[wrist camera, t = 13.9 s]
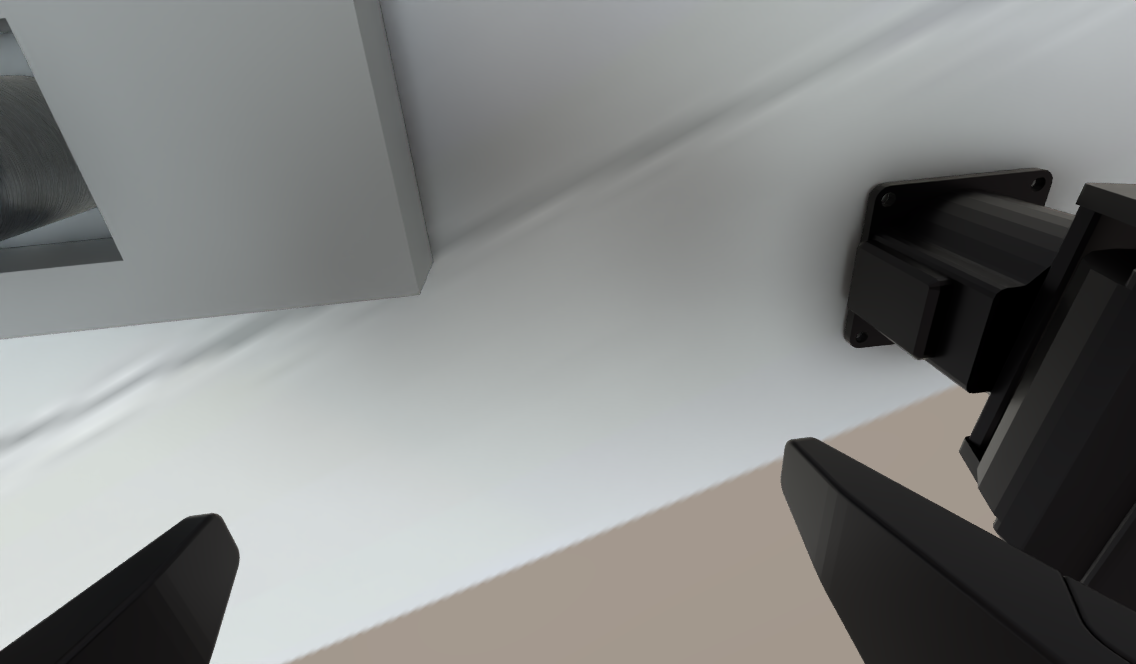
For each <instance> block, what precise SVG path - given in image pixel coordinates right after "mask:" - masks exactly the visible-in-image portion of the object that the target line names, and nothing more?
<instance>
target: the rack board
mask: <svg viewBox="0 0 1136 664" xmlns="http://www.w3.org/2000/svg"><path fill="white" fill-rule="evenodd" d="M10 32H13V34H14V36H15V38H16V40H17V42H18V44H19V46H20V48H21V51H22V53H23V55H24V57H25V59H26V61H27V63H28V65H29V67H30V69H31V71H32V73H33V75H34V77H35V79H36V81H37V83H38V85H39V88H40V90H41V92H42V94H43V96H44V98H45V100H46V102H47V104H48V106H49V108H50V110H51V112H52V114H53V116H54V118H55V120H56V122H57V125H58V127H59V129H60V131H61V133H62V135H63V137H64V139H65V141H66V143H67V145H68V147H69V149H70V151H71V153H72V155H73V157H74V159H75V162H76V164H77V166H78V168H79V170H80V172H81V174H82V176H83V178H84V180H85V182H86V184H87V186H88V188H89V190H90V192H91V194H92V196H93V199H94V201H95V203H96V205H97V207H98V209H99V211H100V213H101V215H102V217H103V219H104V221H105V223H106V225H107V227H108V229H109V231H110V233H111V236H112V238H104V239H94V240H84V241H74V242H64V243H54V244H44V245H34V246H24V247H14V248H4V249H0V339H9V338H19V337H28V336H38V335H47V334H57V333H66V332H75V331H85V330H94V329H104V328H113V327H122V326H132V325H141V324H151V323H160V322H170V321H179V320H188V319H198V318H207V317H217V316H226V315H235V314H245V313H254V312H264V311H273V310H283V309H292V308H301V307H311V306H320V305H330V304H339V303H348V302H358V301H367V300H377V299H386V298H396V297H405V296H414V295H420V293H421V290H422V288H423V286H424V283H425V281H426V278H427V276H428V274H429V271H430V269H431V266H432V264H433V259H432V254H431V249H430V244H429V239H428V234H427V230H426V225H425V220H424V215H423V210H422V205H421V200H420V196H419V191H418V186H417V181H416V176H415V171H414V167H413V162H412V157H411V152H410V147H409V142H408V138H407V133H406V128H405V123H404V118H403V113H402V109H401V104H400V99H399V94H398V89H397V84H396V80H395V75H394V70H393V65H392V60H391V55H390V51H389V46H388V41H387V36H386V31H385V26H384V22H383V17H382V12H381V7H380V2H379V0H0V33H10Z"/></svg>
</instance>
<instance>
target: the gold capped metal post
mask: <svg viewBox="0 0 1136 664" xmlns="http://www.w3.org/2000/svg"><path fill="white" fill-rule="evenodd" d="M95 207H97V205H96V203H95V201H94V199H93V196H92V194H91V192H90V190H89V188H88V186H87V184H86V182H85V180H84V178H83V176H82V174H81V172H80V170H79V168H78V166H77V164H76V162H75V159H74V157H73V155H72V153H71V151H70V149H69V147H68V145H67V143H66V141H65V139H64V137H63V135H62V133H61V131H60V129H59V127H58V125H57V122H56V120H55V118H54V116H53V114H52V112H51V110H50V108H49V106H48V104H47V102H46V100H45V98H44V96H43V94H42V92H41V90H40V88H39V85H38V83H37V81H36V79H35V77H29V76H0V241H2V240H5V239H8V238H11V237H14V236H17V235H19V234H22V233H25V232H28V231H31V230H34V229H37V228H39V227H42V226H45V225H48V224H51V223H54V222H56V221H59V220H62V219H65V218H68V217H71V216H73V215H76V214H79V213H82V212H85V211H88V210H90V209H93V208H95Z"/></svg>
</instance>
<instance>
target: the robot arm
mask: <svg viewBox="0 0 1136 664" xmlns="http://www.w3.org/2000/svg"><path fill="white" fill-rule="evenodd" d="M1052 179H1053V177H1052V174H1051V173H1050V172H1049V171H1048V170H1043V169H1038V168H1028V169H1018V170H1008V171H998V172H988V173H979V174H969V175H959V176H949V177H939V178H929V179H920V180H910V181H900V182H890V183H883V184H880V185H878V186H876V187H875V188H874V189H873V190H872V192H871V193H870V195H869V198H868V203H867V209H866V214H865V220H864V226H863V231H862V237H861V243H860V245H859V247H858V248H857V253H856V259H855V265H854V270H853V276H852V282H851V288H850V293H849V299H848V308H849V310H848V316H847V322H846V327H845V333H844V337H845V340H846V341H847V342H848V343H849V344H850V345H852V346H853V347H855V348H864V347H873V346H882V345H891V344H896V345H897V346H899V347H900V348H901V349H903V350H904V351H905V352H907V353H908V354H909V355H911V356H912V357H913V358H915V359H917V360H922V359H924V360H925V361H927V362H928V363H929V364H931V365H932V366H933V367H935V368H936V369H937V370H939V371H940V372H942V373H943V374H944V375H946V376H947V377H948V378H950V379H951V380H952V381H954V382H955V383H956V384H958V385H959V386H960V387H962V388H963V389H965V390H966V391H967V392H969V393H981V392H986V393H988V394H989V395H990V396H989V397H988V400H987V402H986V404H985V406H984V408H983V410H982V412H981V414H980V416H979V418H978V421H977V423H976V425H975V427H974V429H973V431H972V433H971V436H967V437H965V439H964V441H963V443H962V446H961V448H960V450H959V453H960V454H961V456H962V458H963V460H964V461H965V463H966V465H967V466H968V468H969V470H970V471H971V473H972V475H973V476H974V478H975V480H976V482H977V483H978V488H979V490H980V492H981V494H982V495H983V497H984V499H985V500H986V502H987V503H988V505H989V507H990V509H991V511H992V512H993V513H994V515H995V516H996V517H997V518H996V520H995V522H994V523H993V528H994V529H995V531H996V533H997V534H998V535H999V536H1000V538H1001V539H1002V540H1001V539H1000V538H998V537H996V536H994V535H992V534H990V533H989V532H987V531H985V530H983V529H981V528H979V527H978V526H976V525H974V524H972V523H970V522H968V521H967V520H965V519H963V518H961V517H959V516H957V515H956V514H954V513H952V512H950V511H948V510H946V509H945V508H943V507H941V506H939V505H937V504H935V503H933V502H932V501H930V500H928V499H926V498H924V497H923V496H921V495H919V494H917V493H915V492H913V491H911V490H909V489H908V488H906V487H904V486H902V485H901V484H899V483H897V482H895V481H893V480H891V479H890V478H888V477H886V476H884V475H882V474H880V473H878V472H877V471H875V470H873V469H871V468H869V467H867V466H866V465H864V464H862V463H860V462H858V461H856V460H855V459H853V458H851V457H849V456H847V455H845V454H844V453H842V452H840V451H838V450H836V449H834V448H833V447H831V446H829V445H827V444H825V443H823V442H822V441H820V440H818V439H816V438H813V437H807V438H799V439H791V440H789V441H788V442H787V443H786V445H785V449H784V457H783V465H782V472H781V486H782V490H783V494H784V496H785V498H786V501H787V503H788V506H789V508H790V511H791V513H792V515H793V518H794V520H795V522H796V525H797V527H798V530H799V532H800V534H801V537H802V539H803V542H804V544H805V547H806V549H807V551H808V554H809V556H810V559H811V561H812V563H813V566H814V568H815V570H816V572H817V575H818V577H819V579H820V581H821V583H822V585H823V587H824V589H825V591H826V593H827V595H828V597H829V599H830V600H831V602H832V604H833V606H834V608H835V609H836V611H837V613H838V615H839V617H840V618H841V620H842V622H843V624H844V626H845V628H846V630H847V632H848V633H849V635H850V637H851V639H852V641H853V642H854V644H855V646H856V648H857V650H858V652H859V654H860V655H861V657H862V659H863V661H864V663H865V664H1136V184H1113V183H1085V185H1084V187H1083V189H1082V191H1081V194H1080V196H1079V198H1078V200H1077V202H1076V204H1077V205H1080V207H1079V209H1078V211H1077V213H1076V215H1073V214H1069V213H1066V212H1062V211H1058V210H1055V209H1051V208H1048V207H1044V205H1045V202H1046V199H1047V196H1048V193H1049V190H1050V187H1051V184H1052ZM1034 180H1036V182H1035V184H1034V185H1033V186H1032V187H1031V185H1032V183H1033V181H1034ZM887 193H889V197H888V200H887V201H886V202H885V203H883V204H882V198H883V196H884V195H885V194H887ZM860 332H862V334H861V335H860V336H859V337H857V338H856V336H857V334H859V333H860ZM239 559H240V557H239V550H238V547H237V545H236V543H235V541H234V539H233V537H232V536H231V534H230V532H229V530H228V528H227V526H226V524H225V522H224V520H223V519H222V517H221V516H219V515H218V514H214V513H209V514H201V515H194V516H190V517H187V518H185V519H183V520H182V521H180V522H179V523H178V524H176V525H175V526H173V527H172V528H171V529H169V530H168V531H167V532H165V533H164V534H162V535H161V536H160V537H158V538H157V539H155V540H154V541H153V542H151V543H150V544H148V545H147V546H146V547H144V548H143V549H141V550H140V551H139V552H137V553H136V554H135V555H133V556H132V557H130V558H129V559H128V560H126V561H125V562H123V563H122V564H121V565H119V566H118V567H116V568H115V569H114V570H112V571H111V572H110V573H108V574H107V575H105V576H104V577H103V578H101V579H100V580H98V581H97V582H96V583H94V584H93V585H91V586H90V587H89V588H87V589H86V590H84V591H83V592H82V593H80V594H79V595H78V596H76V597H75V598H73V599H72V600H71V601H69V602H68V603H66V604H65V605H64V606H62V607H61V608H59V609H58V610H57V611H55V612H54V613H53V614H51V615H50V616H48V617H47V618H46V619H44V620H43V621H41V622H40V623H39V624H37V625H36V626H34V627H33V628H32V629H30V630H29V631H27V632H26V633H25V634H23V635H22V636H21V637H19V638H18V639H16V640H15V641H14V642H12V643H11V644H9V645H8V646H7V647H5V648H4V649H2V650H1V651H0V664H209V662H210V659H211V656H212V653H213V650H214V647H215V644H216V640H217V637H218V634H219V630H220V627H221V624H222V620H223V617H224V613H225V610H226V607H227V603H228V600H229V597H230V593H231V590H232V586H233V583H234V580H235V576H236V573H237V570H238V566H239Z"/></svg>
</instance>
